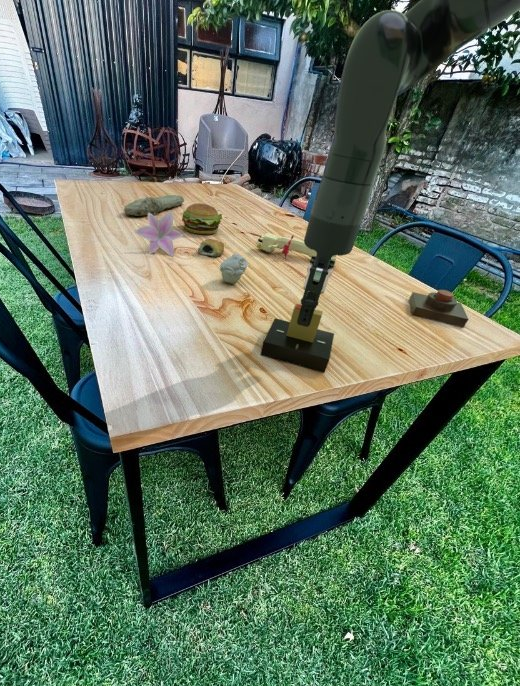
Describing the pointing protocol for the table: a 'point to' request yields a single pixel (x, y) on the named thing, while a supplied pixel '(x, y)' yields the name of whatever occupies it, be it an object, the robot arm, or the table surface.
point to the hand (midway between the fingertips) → (306, 314)
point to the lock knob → (303, 331)
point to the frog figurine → (233, 268)
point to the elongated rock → (152, 205)
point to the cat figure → (285, 245)
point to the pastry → (211, 247)
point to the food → (201, 219)
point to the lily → (160, 233)
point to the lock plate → (297, 347)
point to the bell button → (444, 295)
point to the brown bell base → (437, 309)
